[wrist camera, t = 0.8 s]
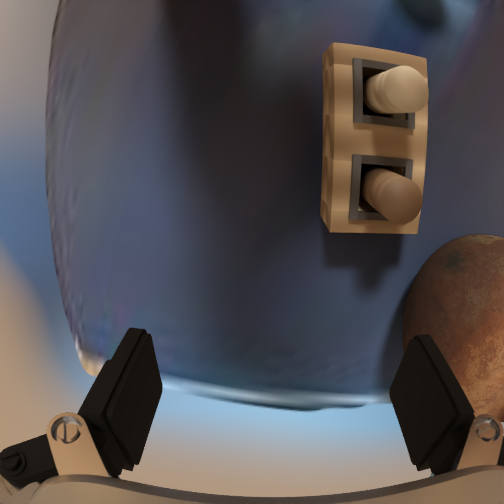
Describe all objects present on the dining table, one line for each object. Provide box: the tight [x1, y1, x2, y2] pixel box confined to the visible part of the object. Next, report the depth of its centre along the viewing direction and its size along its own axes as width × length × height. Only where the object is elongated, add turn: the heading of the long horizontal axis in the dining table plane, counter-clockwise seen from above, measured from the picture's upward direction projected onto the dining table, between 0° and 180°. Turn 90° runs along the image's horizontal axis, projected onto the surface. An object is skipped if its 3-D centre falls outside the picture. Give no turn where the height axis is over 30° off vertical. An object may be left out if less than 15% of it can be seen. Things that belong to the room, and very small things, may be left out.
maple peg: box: [363, 66, 429, 114], centre depth 23 cm, size 4×4×7 cm
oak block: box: [320, 42, 428, 234], centre depth 30 cm, size 19×10×7 cm, turn 1°
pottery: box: [403, 234, 504, 422], centre depth 28 cm, size 23×23×25 cm
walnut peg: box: [360, 167, 423, 225], centre depth 27 cm, size 4×4×7 cm
